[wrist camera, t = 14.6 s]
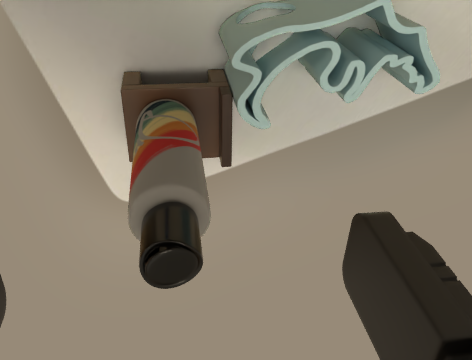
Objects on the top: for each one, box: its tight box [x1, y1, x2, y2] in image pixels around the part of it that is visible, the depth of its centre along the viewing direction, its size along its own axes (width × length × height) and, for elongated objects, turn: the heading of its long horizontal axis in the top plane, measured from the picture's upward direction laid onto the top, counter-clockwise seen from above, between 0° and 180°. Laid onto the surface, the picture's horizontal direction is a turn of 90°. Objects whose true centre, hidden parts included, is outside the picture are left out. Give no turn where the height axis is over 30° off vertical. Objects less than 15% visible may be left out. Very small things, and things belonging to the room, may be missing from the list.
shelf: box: [121, 69, 233, 167], centre depth 45 cm, size 10×8×7 cm
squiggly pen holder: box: [219, 0, 440, 129], centre depth 42 cm, size 18×10×9 cm, turn 107°
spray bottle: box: [128, 99, 211, 289], centre depth 35 cm, size 6×6×20 cm
